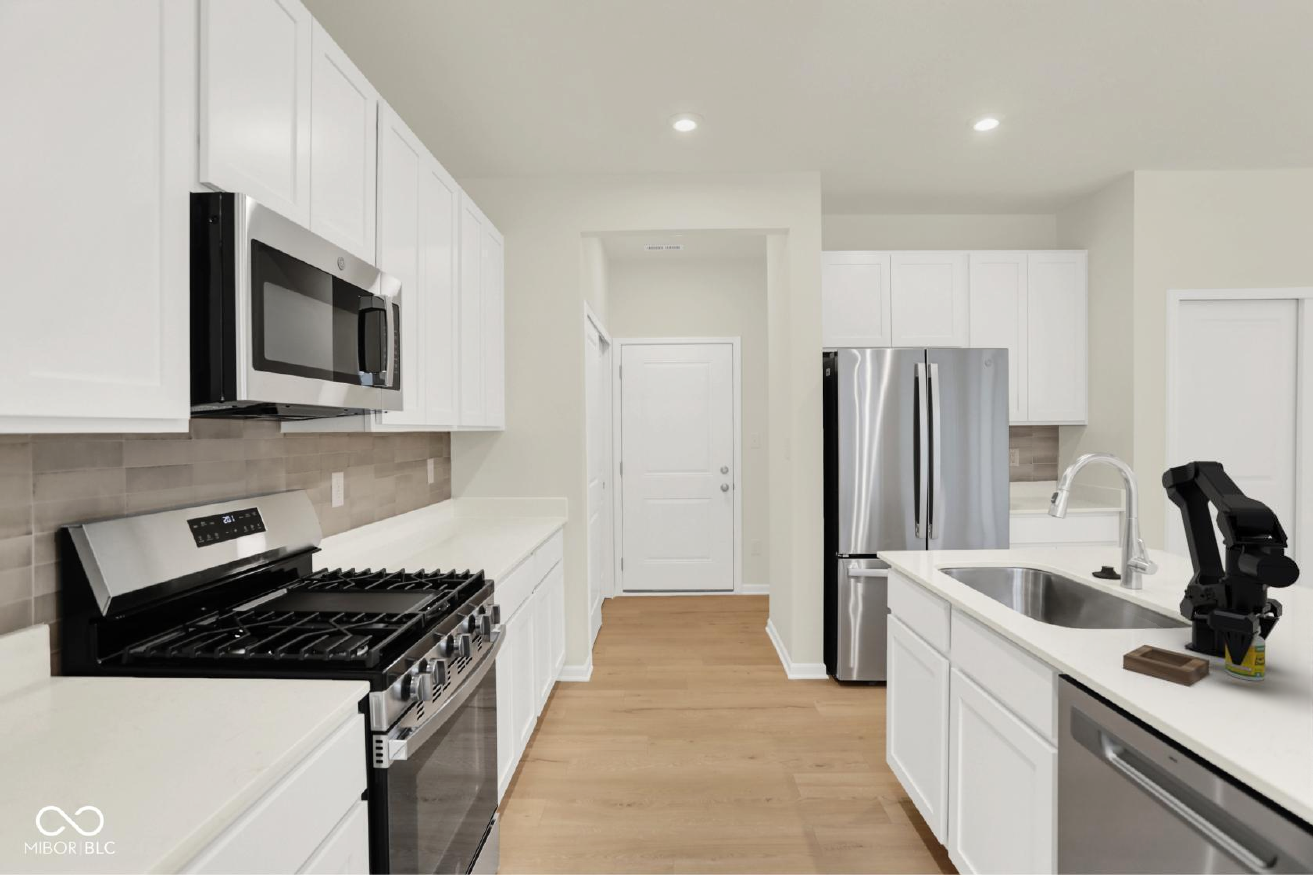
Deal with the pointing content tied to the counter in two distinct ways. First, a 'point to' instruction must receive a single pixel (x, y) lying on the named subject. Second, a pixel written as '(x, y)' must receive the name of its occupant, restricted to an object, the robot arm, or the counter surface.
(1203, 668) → the socket block
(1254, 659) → the supplement bottle
